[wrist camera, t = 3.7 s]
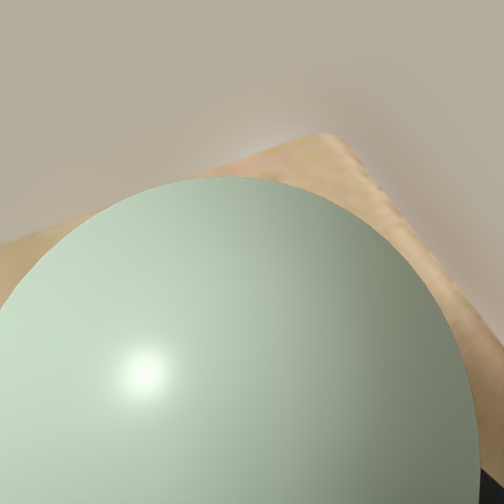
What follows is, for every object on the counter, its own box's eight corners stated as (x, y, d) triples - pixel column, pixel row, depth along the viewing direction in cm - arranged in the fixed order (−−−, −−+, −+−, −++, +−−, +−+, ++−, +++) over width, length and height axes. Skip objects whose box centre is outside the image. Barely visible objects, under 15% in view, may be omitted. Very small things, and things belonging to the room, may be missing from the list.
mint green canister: (305, 374, 17) (563, 401, 5) (208, 481, 14) (212, 1103, 2) (223, 282, 18) (254, 111, 6) (121, 368, 16) (-180, 381, 3)
